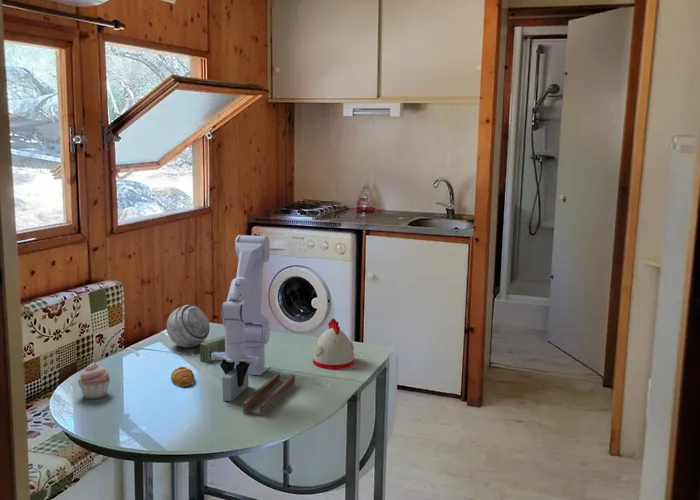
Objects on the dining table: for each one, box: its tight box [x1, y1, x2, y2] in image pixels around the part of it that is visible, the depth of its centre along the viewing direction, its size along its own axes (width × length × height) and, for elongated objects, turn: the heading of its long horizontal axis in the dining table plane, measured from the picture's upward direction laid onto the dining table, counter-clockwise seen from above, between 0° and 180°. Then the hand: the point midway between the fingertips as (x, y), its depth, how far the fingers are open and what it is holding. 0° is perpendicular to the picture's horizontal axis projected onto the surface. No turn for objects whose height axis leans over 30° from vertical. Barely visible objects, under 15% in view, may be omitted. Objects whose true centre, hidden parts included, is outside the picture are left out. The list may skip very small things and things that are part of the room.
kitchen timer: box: [312, 318, 355, 370], centre depth 227 cm, size 14×14×15 cm
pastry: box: [170, 366, 195, 388], centre depth 209 cm, size 9×7×4 cm
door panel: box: [221, 367, 250, 402], centre depth 200 cm, size 2×12×7 cm, turn 164°
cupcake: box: [77, 362, 112, 400], centre depth 197 cm, size 9×9×10 cm
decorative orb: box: [166, 304, 211, 348], centre depth 241 cm, size 15×14×15 cm
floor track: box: [242, 372, 296, 417], centre depth 197 cm, size 6×24×3 cm, turn 164°
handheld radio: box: [199, 335, 225, 363], centre depth 236 cm, size 7×3×25 cm
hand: (235, 385), depth 200 cm, fingers closed on door panel, 2 cm apart
